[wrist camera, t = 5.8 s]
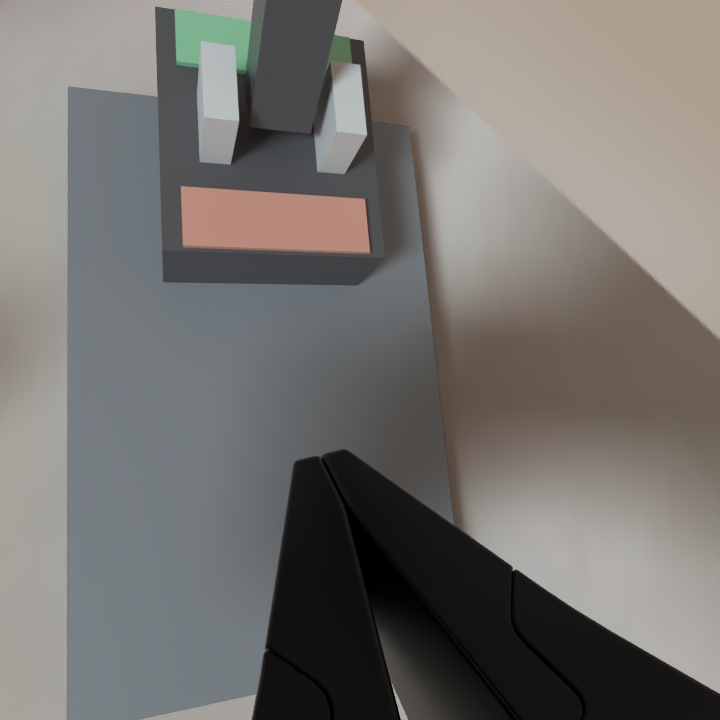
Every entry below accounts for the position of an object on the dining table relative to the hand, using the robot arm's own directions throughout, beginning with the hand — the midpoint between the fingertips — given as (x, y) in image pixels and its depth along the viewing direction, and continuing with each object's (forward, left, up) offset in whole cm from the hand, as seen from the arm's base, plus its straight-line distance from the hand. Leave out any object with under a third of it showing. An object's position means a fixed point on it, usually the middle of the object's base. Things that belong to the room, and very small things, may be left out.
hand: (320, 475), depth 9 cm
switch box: (+3, -2, -9) cm, 10 cm away
